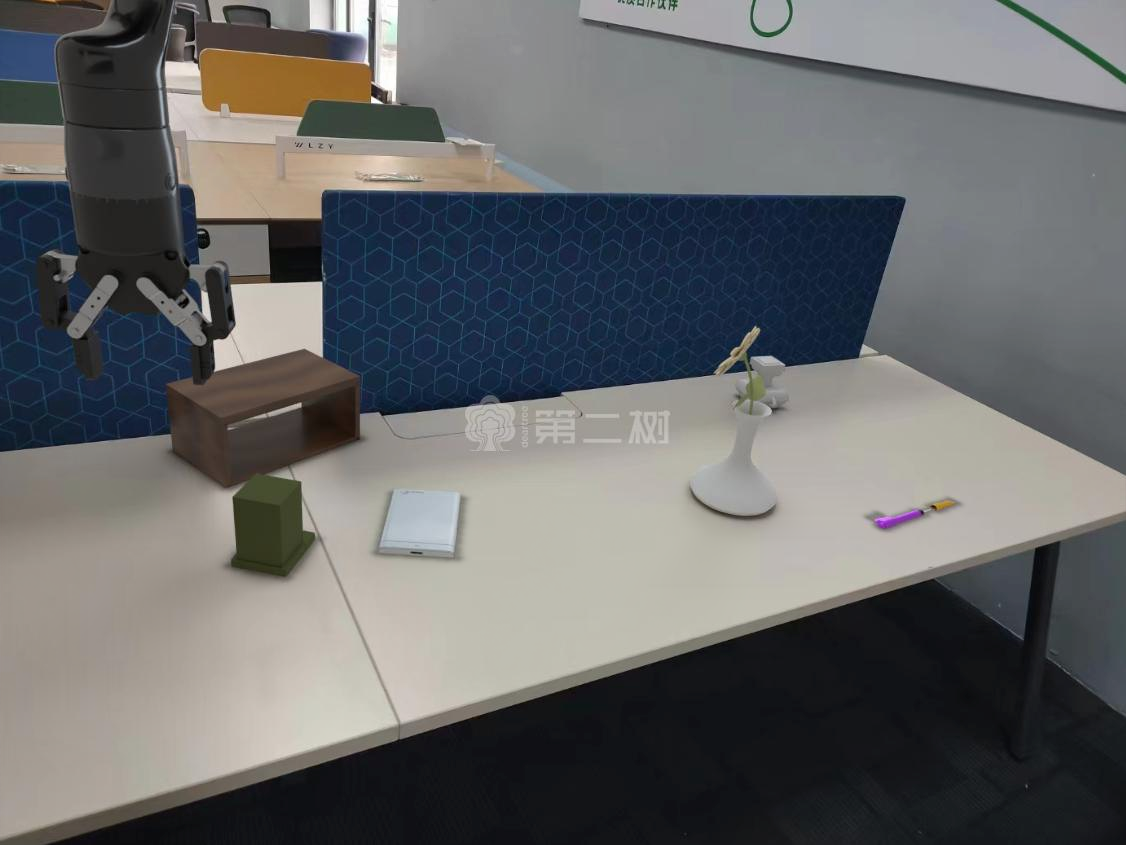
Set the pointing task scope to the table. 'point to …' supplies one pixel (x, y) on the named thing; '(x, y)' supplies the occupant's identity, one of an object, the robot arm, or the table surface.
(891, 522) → the purple and yellow rod
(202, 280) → the robot arm
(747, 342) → the flower in vase
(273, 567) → the green pedestal block
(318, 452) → the brown wooden cubby
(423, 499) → the hard drive
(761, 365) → the stamp
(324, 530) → the table surface
